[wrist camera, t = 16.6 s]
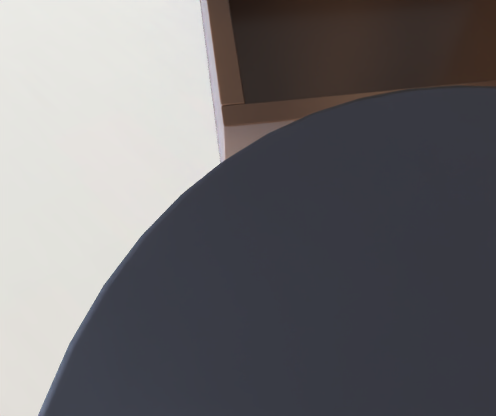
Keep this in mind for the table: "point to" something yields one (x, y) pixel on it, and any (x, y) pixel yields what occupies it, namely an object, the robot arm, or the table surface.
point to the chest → (335, 56)
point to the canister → (312, 276)
